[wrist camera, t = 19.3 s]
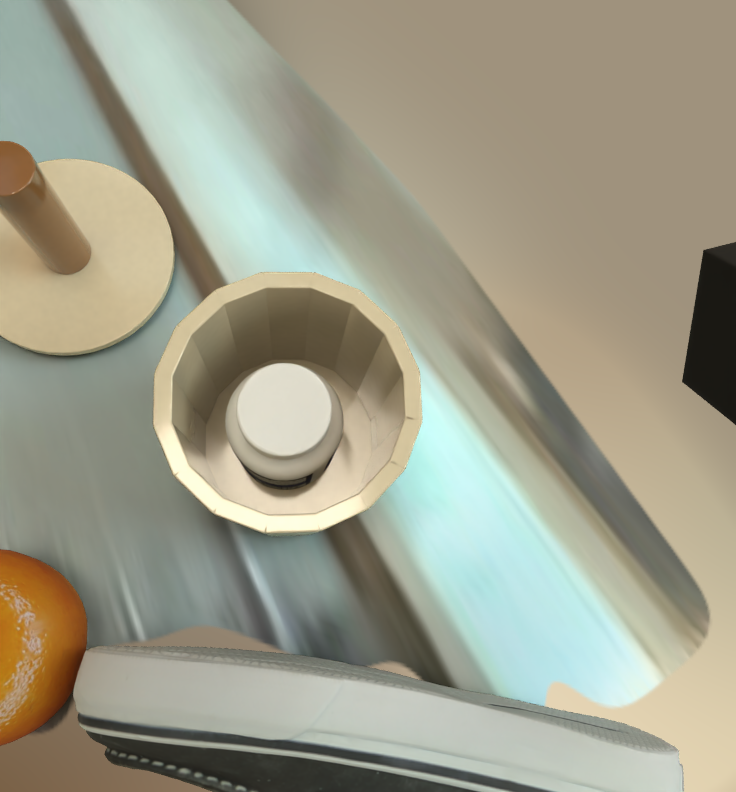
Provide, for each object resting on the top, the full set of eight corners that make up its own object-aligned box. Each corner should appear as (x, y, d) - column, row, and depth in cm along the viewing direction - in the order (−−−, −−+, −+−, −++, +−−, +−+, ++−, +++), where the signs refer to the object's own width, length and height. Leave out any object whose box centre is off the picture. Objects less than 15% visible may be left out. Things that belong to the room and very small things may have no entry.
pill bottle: (291, 373, 39) (292, 320, 30) (354, 446, 39) (376, 415, 30) (215, 436, 38) (191, 400, 29) (279, 511, 38) (277, 500, 28)
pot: (192, 539, 38) (149, 537, 26) (195, 350, 40) (156, 270, 28) (386, 532, 39) (428, 527, 27) (378, 349, 41) (414, 272, 29)
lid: (-42, 359, 38) (-158, 294, 28) (-26, 166, 40) (-128, 44, 30) (174, 357, 39) (137, 295, 30) (178, 171, 42) (144, 55, 32)
